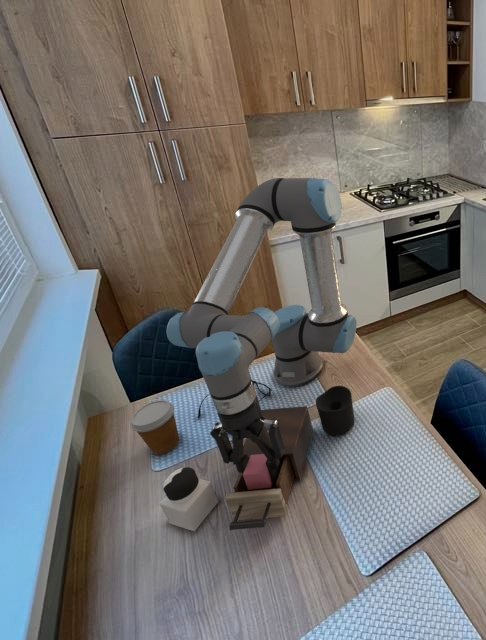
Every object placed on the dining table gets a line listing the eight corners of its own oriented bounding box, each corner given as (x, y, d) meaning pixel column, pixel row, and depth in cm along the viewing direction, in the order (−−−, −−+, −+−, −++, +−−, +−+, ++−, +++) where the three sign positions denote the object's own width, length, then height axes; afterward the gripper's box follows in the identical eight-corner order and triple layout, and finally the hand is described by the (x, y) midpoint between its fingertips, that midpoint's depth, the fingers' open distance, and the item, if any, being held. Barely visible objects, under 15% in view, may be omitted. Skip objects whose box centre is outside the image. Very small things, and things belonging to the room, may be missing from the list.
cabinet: (300, 480, 99) (292, 453, 95) (247, 485, 98) (237, 458, 94) (313, 431, 112) (307, 406, 108) (267, 435, 111) (259, 409, 107)
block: (255, 469, 94) (250, 454, 92) (277, 467, 95) (273, 452, 93) (248, 489, 90) (242, 475, 88) (271, 487, 90) (265, 472, 88)
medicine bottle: (219, 501, 94) (204, 466, 89) (194, 532, 88) (177, 497, 83) (195, 494, 96) (179, 459, 91) (169, 523, 90) (150, 488, 85)
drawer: (279, 539, 86) (271, 516, 82) (224, 544, 85) (214, 521, 82) (301, 462, 102) (295, 440, 99) (255, 466, 102) (248, 444, 98)
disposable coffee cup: (182, 452, 107) (168, 419, 102) (140, 465, 104) (123, 432, 99) (189, 425, 115) (175, 394, 110) (150, 436, 112) (134, 404, 107)
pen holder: (323, 414, 117) (317, 388, 113) (356, 409, 119) (351, 383, 114) (320, 441, 109) (314, 414, 105) (355, 435, 110) (351, 408, 106)
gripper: (181, 420, 78) (215, 497, 88) (276, 413, 79) (298, 490, 89) (200, 392, 85) (229, 466, 95) (287, 385, 86) (306, 460, 96)
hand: (262, 477), depth 92 cm, fingers closed on block, 5 cm apart
